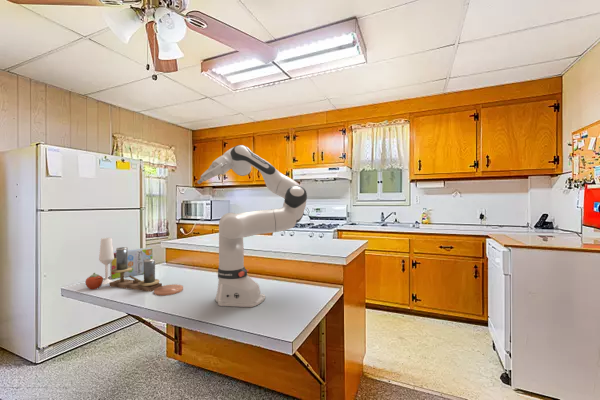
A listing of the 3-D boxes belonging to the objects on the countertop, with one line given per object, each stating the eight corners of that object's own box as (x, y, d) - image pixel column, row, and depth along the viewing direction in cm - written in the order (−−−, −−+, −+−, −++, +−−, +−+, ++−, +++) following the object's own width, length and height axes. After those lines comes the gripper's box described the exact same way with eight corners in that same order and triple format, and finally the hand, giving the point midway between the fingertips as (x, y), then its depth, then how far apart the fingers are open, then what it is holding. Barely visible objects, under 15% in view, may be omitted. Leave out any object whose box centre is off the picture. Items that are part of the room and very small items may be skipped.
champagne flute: (104, 285, 150) (104, 239, 150) (96, 283, 152) (95, 238, 152) (117, 281, 156) (116, 237, 156) (108, 280, 159) (108, 237, 158)
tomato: (93, 291, 140) (93, 274, 140) (81, 290, 142) (81, 274, 142) (106, 286, 148) (106, 271, 148) (94, 285, 149) (94, 270, 149)
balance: (163, 286, 147) (163, 270, 147) (149, 292, 139) (149, 274, 139) (123, 281, 155) (123, 266, 155) (107, 286, 147) (107, 270, 147)
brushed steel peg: (157, 280, 146) (157, 259, 146) (149, 283, 141) (149, 261, 141) (149, 279, 148) (149, 258, 147) (141, 282, 143) (141, 260, 143)
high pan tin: (130, 268, 151) (129, 247, 151) (121, 270, 146) (121, 249, 146) (122, 267, 153) (122, 247, 153) (113, 269, 148) (113, 248, 148)
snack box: (150, 271, 178) (150, 247, 178) (152, 272, 174) (152, 248, 174) (110, 277, 165) (110, 251, 165) (111, 279, 161) (111, 252, 160)
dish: (188, 288, 145) (188, 285, 145) (170, 296, 133) (170, 293, 133) (167, 285, 149) (167, 283, 149) (147, 293, 137) (147, 291, 137)
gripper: (231, 167, 150) (211, 183, 142) (217, 174, 166) (199, 188, 159) (223, 157, 148) (203, 173, 140) (210, 165, 164) (191, 179, 157)
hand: (201, 181), depth 150 cm, fingers open, 8 cm apart
